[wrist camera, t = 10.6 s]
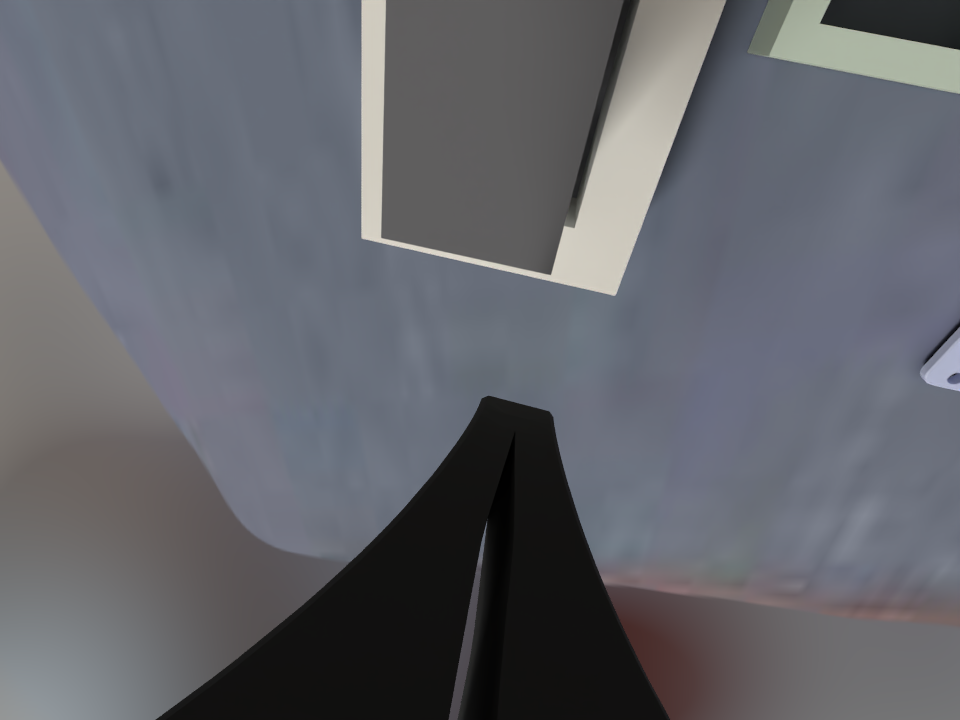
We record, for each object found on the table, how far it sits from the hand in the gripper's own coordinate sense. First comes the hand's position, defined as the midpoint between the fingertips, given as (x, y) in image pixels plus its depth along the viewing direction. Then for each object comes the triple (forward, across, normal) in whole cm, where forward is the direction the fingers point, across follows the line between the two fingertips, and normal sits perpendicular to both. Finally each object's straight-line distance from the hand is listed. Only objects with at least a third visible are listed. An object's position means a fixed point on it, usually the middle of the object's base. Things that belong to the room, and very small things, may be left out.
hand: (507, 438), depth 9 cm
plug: (+10, +2, -5) cm, 11 cm away
